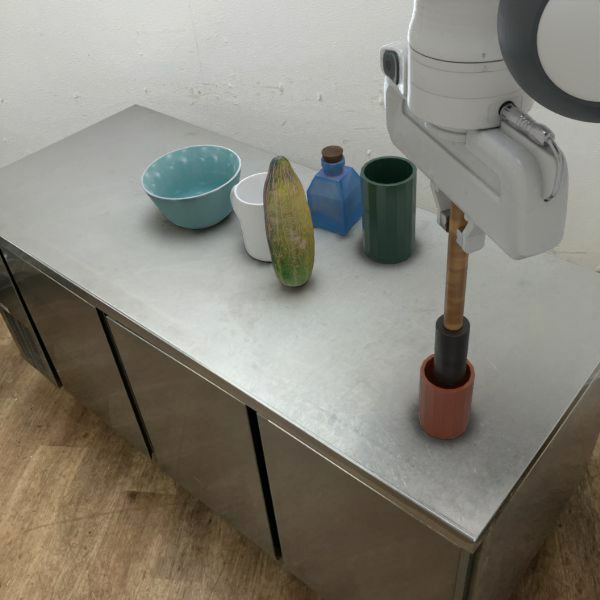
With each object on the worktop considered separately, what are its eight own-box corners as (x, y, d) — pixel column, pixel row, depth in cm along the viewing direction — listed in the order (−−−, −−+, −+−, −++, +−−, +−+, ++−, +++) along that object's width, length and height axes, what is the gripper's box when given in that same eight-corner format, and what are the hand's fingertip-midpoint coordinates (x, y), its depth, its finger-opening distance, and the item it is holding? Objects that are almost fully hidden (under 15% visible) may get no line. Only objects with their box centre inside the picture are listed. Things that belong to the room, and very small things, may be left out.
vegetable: (326, 277, 91) (315, 151, 77) (307, 306, 87) (291, 178, 73) (288, 268, 93) (270, 144, 80) (267, 295, 89) (245, 170, 76)
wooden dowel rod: (471, 378, 65) (491, 194, 50) (443, 389, 65) (455, 205, 50) (455, 357, 67) (469, 174, 53) (427, 367, 67) (434, 185, 52)
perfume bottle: (364, 213, 101) (361, 144, 93) (344, 235, 97) (340, 166, 89) (330, 204, 104) (324, 136, 96) (309, 225, 100) (302, 157, 92)
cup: (424, 254, 92) (427, 176, 84) (376, 269, 91) (374, 191, 82) (400, 226, 98) (401, 150, 89) (355, 241, 96) (351, 164, 87)
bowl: (138, 239, 102) (123, 195, 96) (175, 184, 113) (163, 142, 107) (231, 246, 98) (222, 201, 93) (260, 189, 109) (253, 145, 104)
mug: (218, 239, 100) (205, 182, 93) (257, 214, 104) (247, 158, 97) (271, 271, 93) (261, 211, 86) (311, 242, 97) (305, 184, 90)
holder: (478, 428, 70) (485, 381, 65) (433, 446, 69) (436, 399, 64) (452, 393, 74) (457, 345, 68) (409, 409, 73) (411, 361, 67)
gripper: (612, 128, 38) (571, 300, 47) (439, 24, 53) (434, 171, 62) (519, 156, 37) (496, 327, 46) (369, 42, 52) (374, 189, 61)
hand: (459, 236), depth 54 cm, fingers closed on wooden dowel rod, 2 cm apart
